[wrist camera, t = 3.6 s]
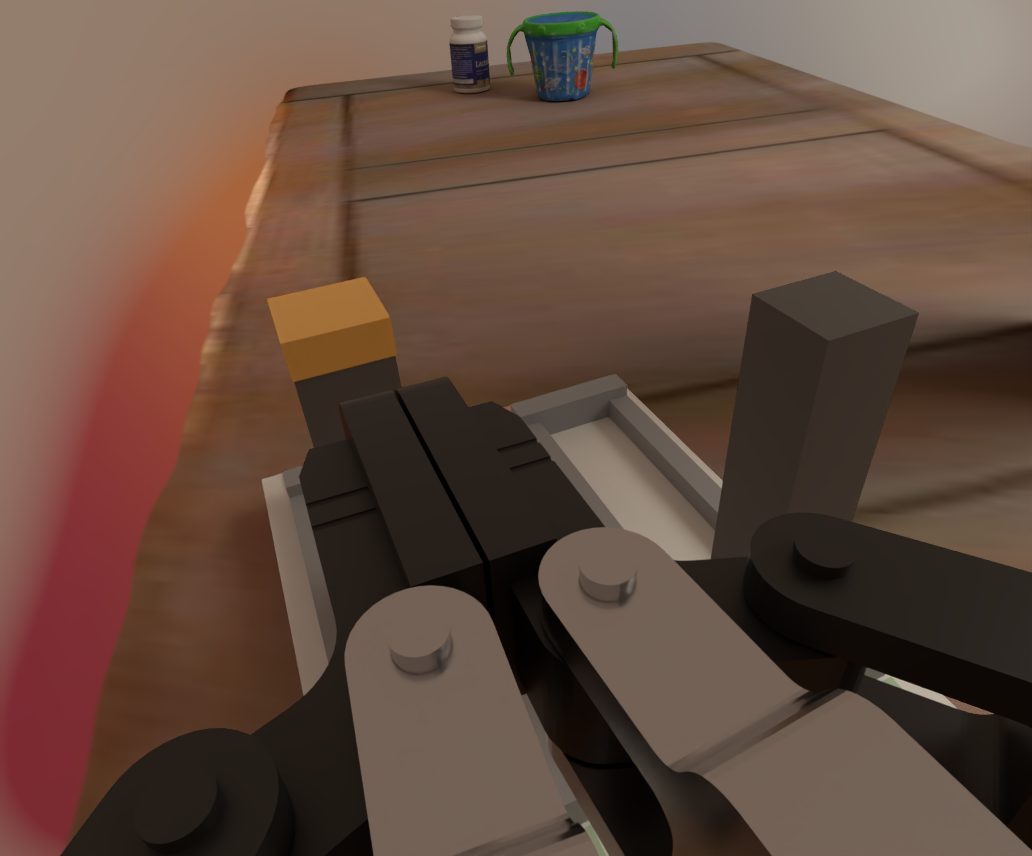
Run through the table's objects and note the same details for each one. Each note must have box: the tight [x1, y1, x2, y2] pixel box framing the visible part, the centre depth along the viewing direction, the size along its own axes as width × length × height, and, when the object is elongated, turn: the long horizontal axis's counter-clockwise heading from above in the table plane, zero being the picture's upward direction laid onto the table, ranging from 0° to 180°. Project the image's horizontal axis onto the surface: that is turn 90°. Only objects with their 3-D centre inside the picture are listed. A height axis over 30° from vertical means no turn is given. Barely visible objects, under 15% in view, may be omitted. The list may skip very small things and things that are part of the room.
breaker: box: [267, 277, 401, 448], centre depth 22 cm, size 3×3×13 cm
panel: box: [262, 271, 957, 856], centre depth 24 cm, size 22×19×15 cm
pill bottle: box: [450, 16, 490, 93], centre depth 106 cm, size 6×6×10 cm
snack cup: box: [507, 12, 618, 102], centre depth 98 cm, size 16×10×10 cm
